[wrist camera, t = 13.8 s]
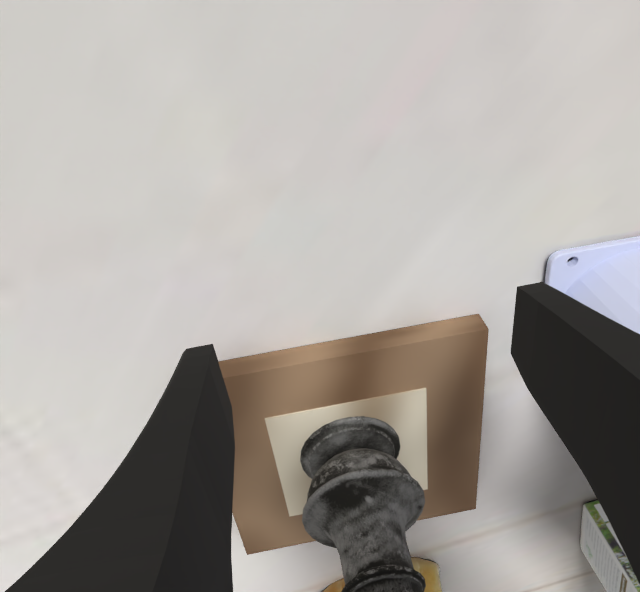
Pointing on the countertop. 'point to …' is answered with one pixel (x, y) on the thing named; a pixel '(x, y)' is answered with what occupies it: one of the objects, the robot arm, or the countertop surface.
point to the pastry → (422, 566)
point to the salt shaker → (363, 503)
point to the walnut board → (351, 401)
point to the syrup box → (605, 551)
